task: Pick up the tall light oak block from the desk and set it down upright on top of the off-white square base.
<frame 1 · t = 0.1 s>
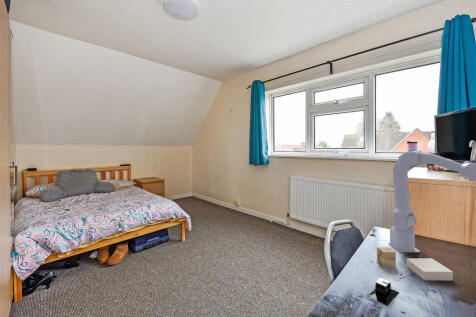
oak block: (386, 264, 85), on the table
base: (428, 272, 78), on the table
black mounting plate: (383, 296, 68), on the table
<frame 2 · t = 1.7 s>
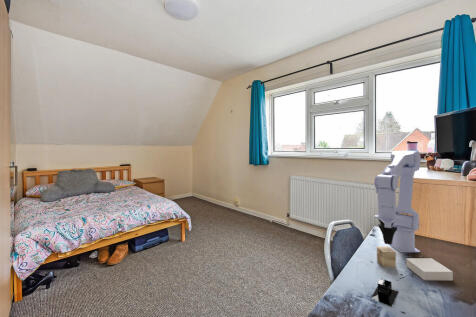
hand: (387, 240, 84), 10 cm above the table, tool pointing down, fingers open, 7 cm apart
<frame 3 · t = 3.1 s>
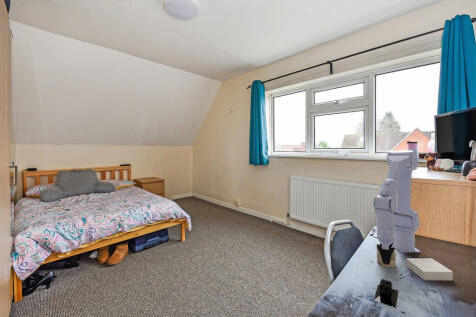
hand: (386, 259, 85), 2 cm above the table, tool pointing down, fingers closed on oak block, 6 cm apart
oak block: (386, 263, 85), on the table, touching gripper
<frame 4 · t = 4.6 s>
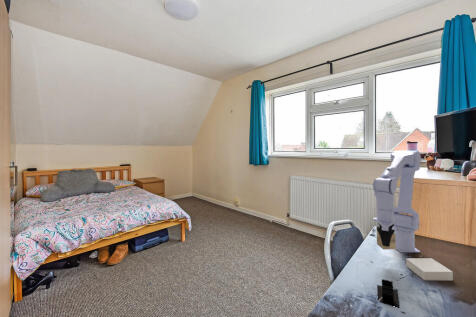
hand: (386, 242, 84), 9 cm above the table, tool pointing down, fingers closed on oak block, 6 cm apart
oak block: (386, 246, 84), point 7 cm above the table, touching gripper
when the fingers open (6 cm above the table, at t = 6.4 s): oak block drops 1 cm, resting on base.
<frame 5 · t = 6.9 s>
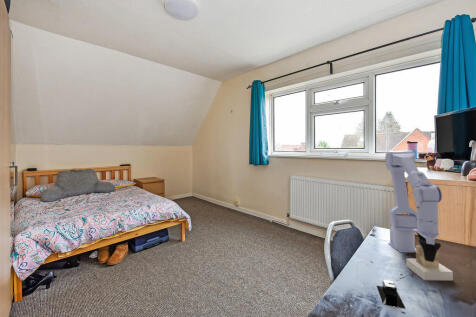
hand: (427, 256, 77), 6 cm above the table, tool pointing down, fingers open, 7 cm apart
oak block: (427, 264, 78), point 3 cm above the table, touching base
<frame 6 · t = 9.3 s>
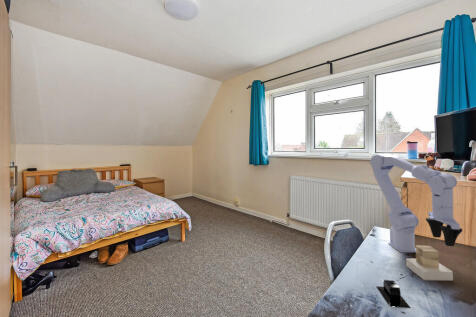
hand: (442, 241, 81), 9 cm above the table, tool pointing down, fingers open, 7 cm apart
at the end: oak block 0.3 cm off-centre on the base, point 3.0 cm above the base's base; oak block tilted 0°; the gripper is holding nothing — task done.
